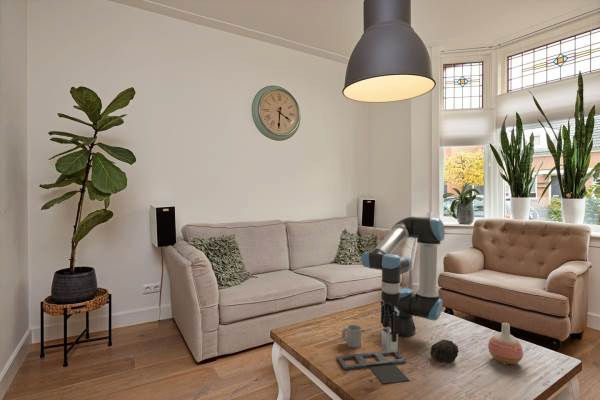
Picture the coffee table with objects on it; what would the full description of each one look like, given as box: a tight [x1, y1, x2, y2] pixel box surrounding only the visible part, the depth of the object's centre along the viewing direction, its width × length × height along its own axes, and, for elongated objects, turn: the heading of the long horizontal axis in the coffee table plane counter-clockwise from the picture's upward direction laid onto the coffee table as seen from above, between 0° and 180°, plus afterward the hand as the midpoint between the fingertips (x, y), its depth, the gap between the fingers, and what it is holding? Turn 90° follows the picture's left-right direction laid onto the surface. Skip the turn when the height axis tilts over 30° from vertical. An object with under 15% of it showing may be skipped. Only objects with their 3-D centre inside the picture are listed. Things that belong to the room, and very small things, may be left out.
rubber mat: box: [369, 364, 410, 385], centre depth 139 cm, size 12×12×1 cm
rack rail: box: [336, 350, 407, 371], centre depth 150 cm, size 30×10×1 cm, turn 102°
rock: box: [429, 339, 459, 363], centre depth 152 cm, size 10×11×10 cm
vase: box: [487, 322, 524, 365], centre depth 150 cm, size 14×14×18 cm
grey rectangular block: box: [381, 328, 399, 353], centre depth 139 cm, size 5×5×8 cm
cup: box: [341, 324, 362, 349], centre depth 166 cm, size 7×10×9 cm
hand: (389, 345), depth 139 cm, fingers closed on grey rectangular block, 5 cm apart
